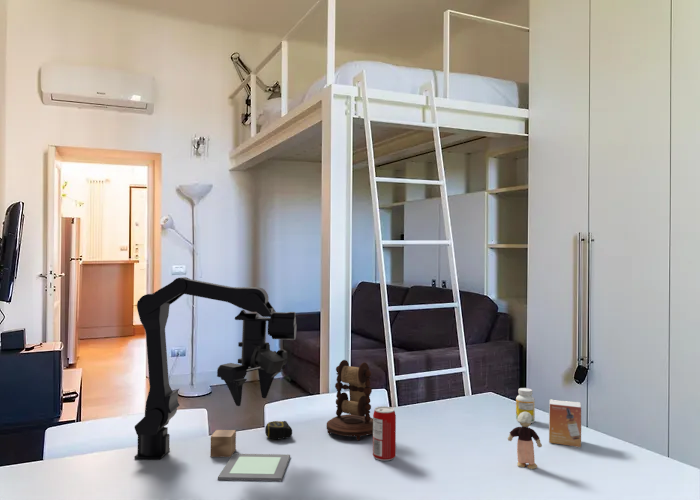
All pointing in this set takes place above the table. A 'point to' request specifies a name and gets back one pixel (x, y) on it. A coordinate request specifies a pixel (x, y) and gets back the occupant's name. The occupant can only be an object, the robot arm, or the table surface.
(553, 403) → the small box
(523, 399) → the supplement bottle
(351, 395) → the wooden spool holder
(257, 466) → the mat
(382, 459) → the soda can
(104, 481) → the table surface
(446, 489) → the table surface
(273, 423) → the tape measure
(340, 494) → the table surface
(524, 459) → the grandmother figurine
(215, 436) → the cube
